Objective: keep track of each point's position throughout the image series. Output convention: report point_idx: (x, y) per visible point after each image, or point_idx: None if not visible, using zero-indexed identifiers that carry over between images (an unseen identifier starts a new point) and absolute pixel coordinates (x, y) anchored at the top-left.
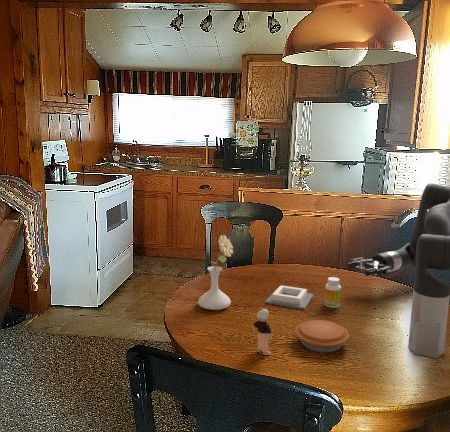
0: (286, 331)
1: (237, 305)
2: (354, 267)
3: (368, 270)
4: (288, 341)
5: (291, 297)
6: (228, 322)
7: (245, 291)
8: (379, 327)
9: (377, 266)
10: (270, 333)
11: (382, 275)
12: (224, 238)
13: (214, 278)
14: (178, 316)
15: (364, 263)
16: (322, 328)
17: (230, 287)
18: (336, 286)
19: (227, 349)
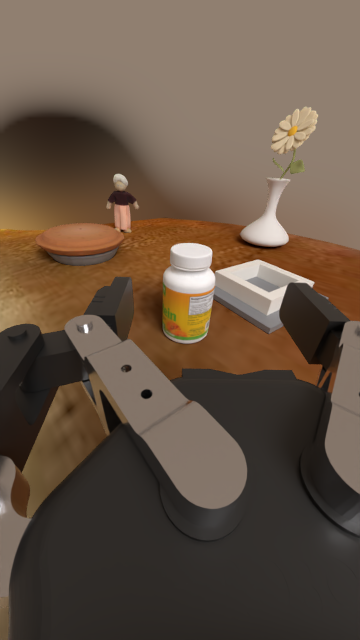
0: (144, 250)
1: (257, 253)
2: (306, 353)
3: (114, 285)
4: (121, 244)
5: (230, 267)
6: (206, 237)
7: (323, 274)
8: (7, 323)
9: (87, 357)
10: (108, 200)
11: (18, 392)
12: (304, 115)
13: (268, 194)
14: (243, 228)
15: (310, 386)
16: (78, 228)
17: (349, 270)
18: (171, 267)
19: (151, 225)
